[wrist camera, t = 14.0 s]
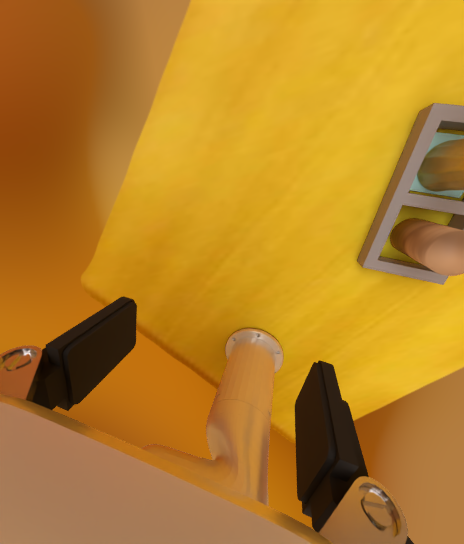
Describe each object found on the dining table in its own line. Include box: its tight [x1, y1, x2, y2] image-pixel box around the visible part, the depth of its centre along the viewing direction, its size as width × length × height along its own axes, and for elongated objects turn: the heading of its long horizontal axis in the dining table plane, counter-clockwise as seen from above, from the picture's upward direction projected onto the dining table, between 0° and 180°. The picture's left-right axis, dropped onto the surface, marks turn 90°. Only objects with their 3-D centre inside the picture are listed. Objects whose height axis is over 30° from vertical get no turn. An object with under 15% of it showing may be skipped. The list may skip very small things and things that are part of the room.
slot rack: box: [357, 103, 464, 285], centre depth 29 cm, size 20×11×3 cm, turn 171°
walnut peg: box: [390, 218, 464, 276], centre depth 28 cm, size 5×5×10 cm
